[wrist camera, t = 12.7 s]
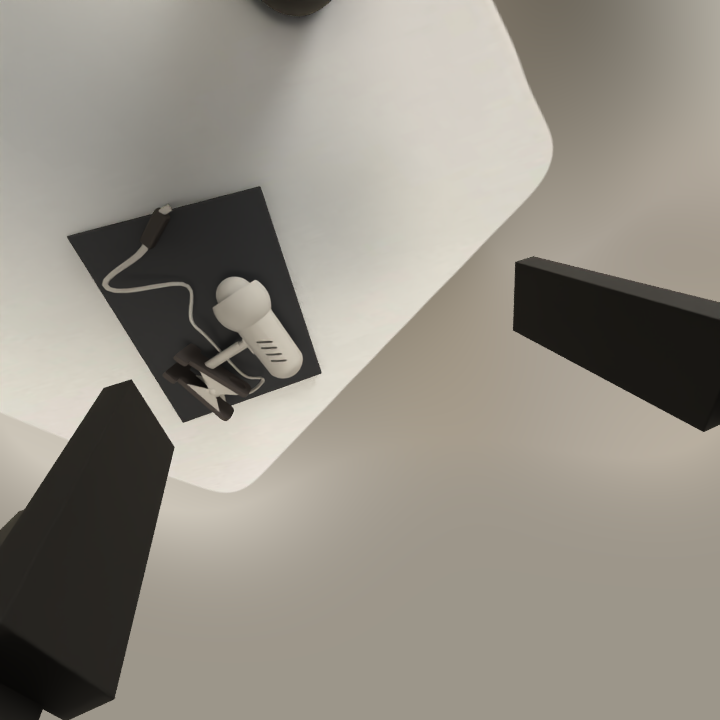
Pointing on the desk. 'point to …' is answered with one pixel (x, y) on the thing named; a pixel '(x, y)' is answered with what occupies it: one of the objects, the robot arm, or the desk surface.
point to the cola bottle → (296, 6)
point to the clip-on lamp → (234, 311)
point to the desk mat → (197, 288)
